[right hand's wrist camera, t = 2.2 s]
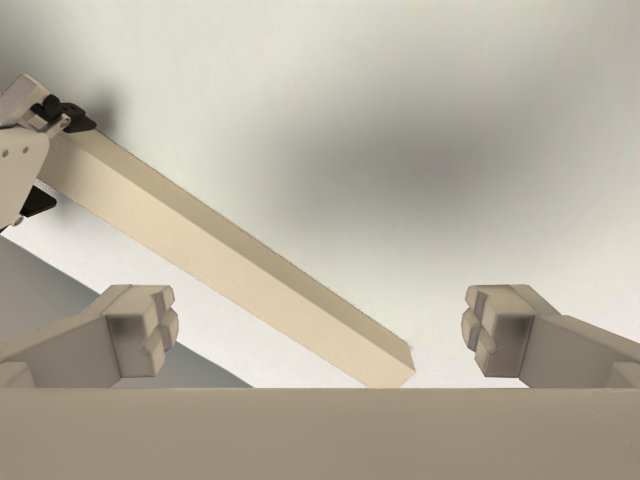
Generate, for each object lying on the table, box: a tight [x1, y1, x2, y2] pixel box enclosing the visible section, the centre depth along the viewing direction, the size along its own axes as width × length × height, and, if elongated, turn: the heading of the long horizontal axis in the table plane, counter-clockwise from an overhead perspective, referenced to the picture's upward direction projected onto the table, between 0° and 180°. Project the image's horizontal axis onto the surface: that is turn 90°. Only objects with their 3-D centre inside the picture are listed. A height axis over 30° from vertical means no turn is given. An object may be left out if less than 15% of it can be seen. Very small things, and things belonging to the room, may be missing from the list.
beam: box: [1, 95, 416, 388], centre depth 42 cm, size 51×5×5 cm, turn 53°
